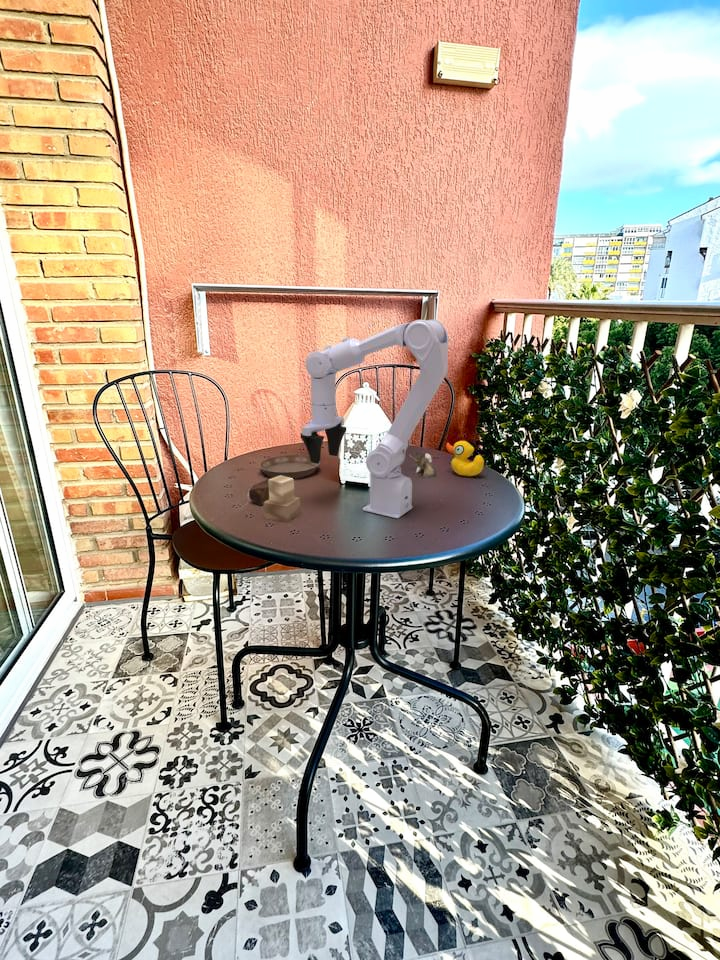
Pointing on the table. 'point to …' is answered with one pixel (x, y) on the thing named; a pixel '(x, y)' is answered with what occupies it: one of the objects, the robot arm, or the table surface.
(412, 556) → the table surface
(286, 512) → the tan wooden block
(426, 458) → the eagle figurine
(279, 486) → the beech block
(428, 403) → the robot arm
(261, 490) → the brick
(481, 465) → the duckling
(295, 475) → the plant saucer
